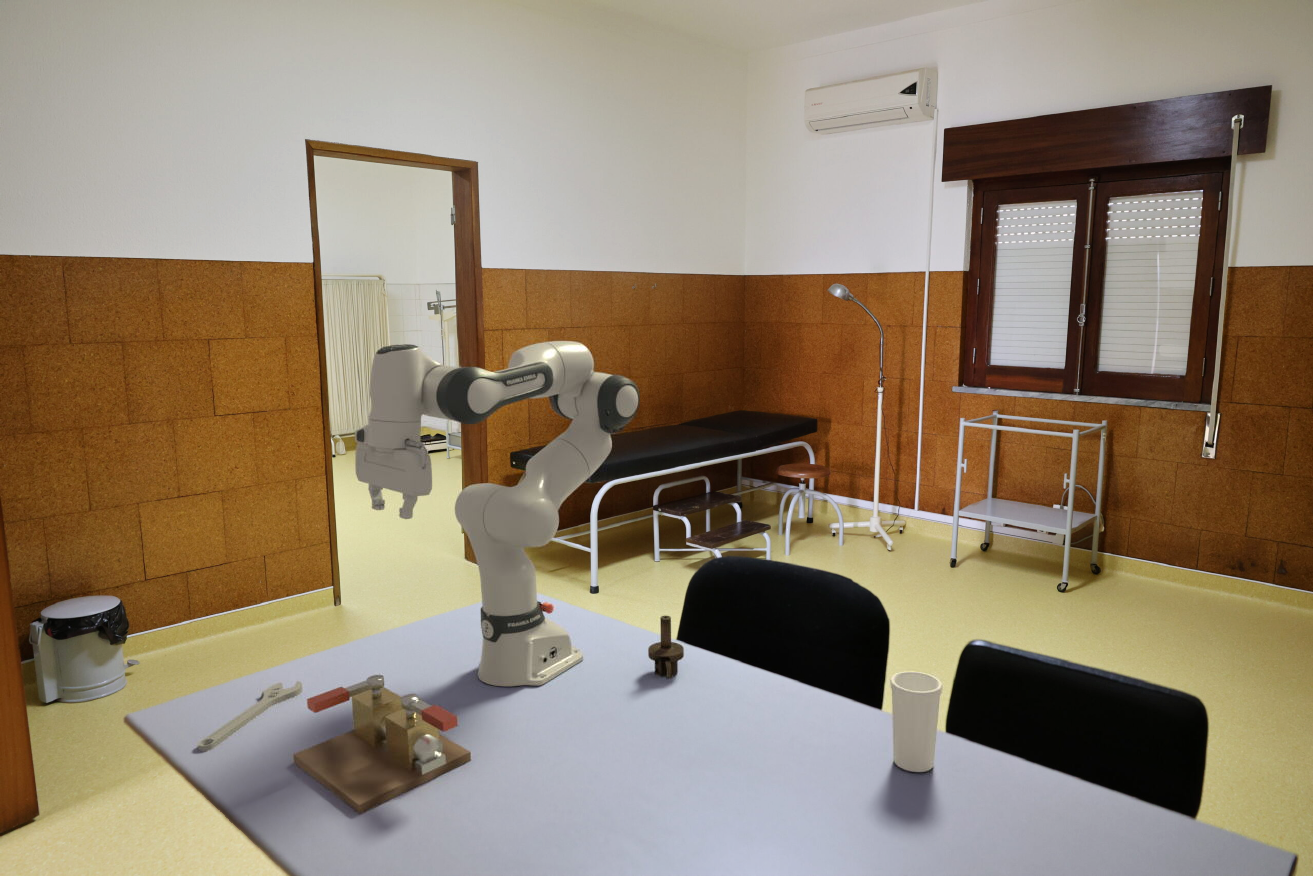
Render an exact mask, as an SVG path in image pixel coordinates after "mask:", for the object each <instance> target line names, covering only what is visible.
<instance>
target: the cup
mask: <svg viewBox="0 0 1313 876" xmlns="http://www.w3.org/2000/svg"><path fill="white" fill-rule="evenodd" d="M889 682H890V689H891V705H892V709H891V710H892V745H893V747H892V749H893V750H892V751H893V752H892V753H893V761H894V764H895V765H896V766H897V767H899V768H901V769H903V770H904V771H908V772H915V773H924V772H928V771H930V770H931V769H932V768H933V767H934V764H935V755H936V745H937V744H936V743H937V735H938V733H937V731H938V721H939V711H940V710H939V709H940V701H941V695H942V693H943V688H944V687H943V684H942V681H941V680H939V678H937V677H936V676H934V675H932V674H929V673H926V672H920V671H910V670H909V671H908V670H907V671H900V672H897V673H894V674H892V676H891V678H890V679H889Z"/></svg>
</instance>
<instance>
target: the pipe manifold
mask: <svg viewBox="0 0 1313 876" xmlns="http://www.w3.org/2000/svg"><path fill="white" fill-rule="evenodd" d="M419 697H420V696H419V695H418V694H417V693H407V694H404V695H403V696H400V695H398V694H397V693H395V692H394V691H392V690H390V689H388V688H386V687H384V686H383V687H382V688H380V689H375V690H371V689H370V690H368V691H365V692H362V693H360V694H357V695H354V696H352V697H351V705H352V707H351V708H352V719H353V721H352V726H353V728H352V730H354V733H355V735H357V736H358V737H360V738H362V739H363V740H365V741H366V742H368V743H369V744H371V745H372V746H374V747H378V746H380V745H382V744H383V749H384V750H385V751H387V755H388V756H389V757H390V758H392V759H393V760H395V761H396V762H398V763H399V764H401V765H402V766H404V767H405V768H407V769H408V770H410V771H411V770H413V769H415V770H416V771H417V772H419V773H420V774H422V775H423V774H425V773H427V772H429V771H431V770H434V769H436V768H438V767H440V766H442V765H444V764H446V758H445V755H444V754H443V753H442V750H443V744H442V742H441V741H440V740H439V734H440V732H442V733H444V732H447V731H450V730H451V729H453V728H456V727H458V726H459V725H458V724H459V723H458V716H457V715H456V714H454V713H452V712H450V711H448V710H447V709H445V708H443V707H442V706H440V705H437V704H433V705H431V704H429V703H428V702H426V701H424V700H421V699H420V698H419ZM439 731H440V732H439Z"/></svg>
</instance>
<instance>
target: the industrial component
mask: <svg viewBox="0 0 1313 876" xmlns="http://www.w3.org/2000/svg"><path fill="white" fill-rule="evenodd" d="M684 648H685V647H684V646H683V645H682V644H680V643H678V642H673V641H672V617H671V616H670V615H661V616H660V641H658V642H656V643H652V644H650V645H649V646H648V654H647V655H648V658H649V659H650V660H651V661H653V662H654V674H655V675H656V676H658V677H660V678H662V677H666V679H667V680H668V679H670V678H671V679H672V677H674V676H676V675H677V674H678V669H679V668H678V667H679V665H678V662H679V661H681V660H682V659H683V658H684V656H685V654H684V653H685V652H684V651H685V649H684Z"/></svg>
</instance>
